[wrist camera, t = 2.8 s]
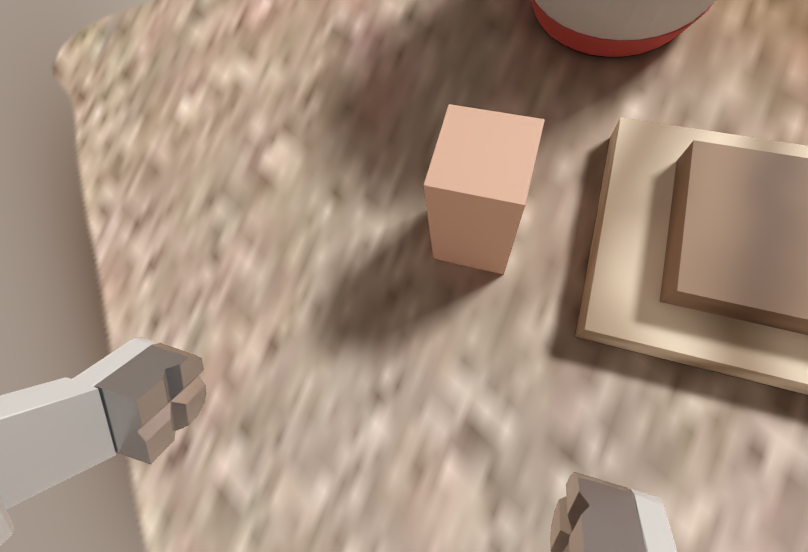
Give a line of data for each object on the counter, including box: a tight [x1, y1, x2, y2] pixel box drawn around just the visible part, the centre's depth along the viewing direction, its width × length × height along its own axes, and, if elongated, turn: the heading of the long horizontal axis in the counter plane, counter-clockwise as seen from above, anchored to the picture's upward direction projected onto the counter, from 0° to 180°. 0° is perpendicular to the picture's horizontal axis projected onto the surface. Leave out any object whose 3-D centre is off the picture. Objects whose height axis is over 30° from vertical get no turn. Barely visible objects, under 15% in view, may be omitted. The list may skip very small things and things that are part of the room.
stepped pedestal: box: [575, 118, 808, 395], centre depth 24 cm, size 16×14×4 cm
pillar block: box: [424, 104, 545, 275], centre depth 24 cm, size 4×4×9 cm
